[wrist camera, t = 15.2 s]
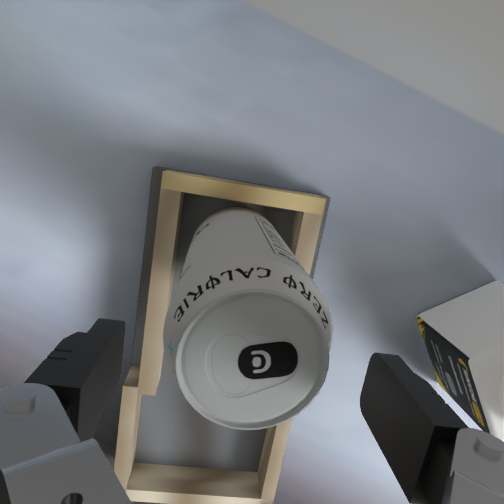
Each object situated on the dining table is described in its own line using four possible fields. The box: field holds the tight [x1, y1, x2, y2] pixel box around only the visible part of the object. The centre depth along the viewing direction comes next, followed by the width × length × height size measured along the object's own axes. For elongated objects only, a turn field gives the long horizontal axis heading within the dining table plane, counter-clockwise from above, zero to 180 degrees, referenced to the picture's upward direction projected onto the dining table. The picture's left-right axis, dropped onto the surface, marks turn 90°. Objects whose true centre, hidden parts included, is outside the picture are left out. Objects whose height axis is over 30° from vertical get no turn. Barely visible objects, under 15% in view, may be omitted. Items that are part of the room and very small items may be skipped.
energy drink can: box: [163, 207, 333, 430], centre depth 19 cm, size 6×6×15 cm
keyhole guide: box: [114, 167, 330, 504], centre depth 27 cm, size 12×24×4 cm, turn 170°
